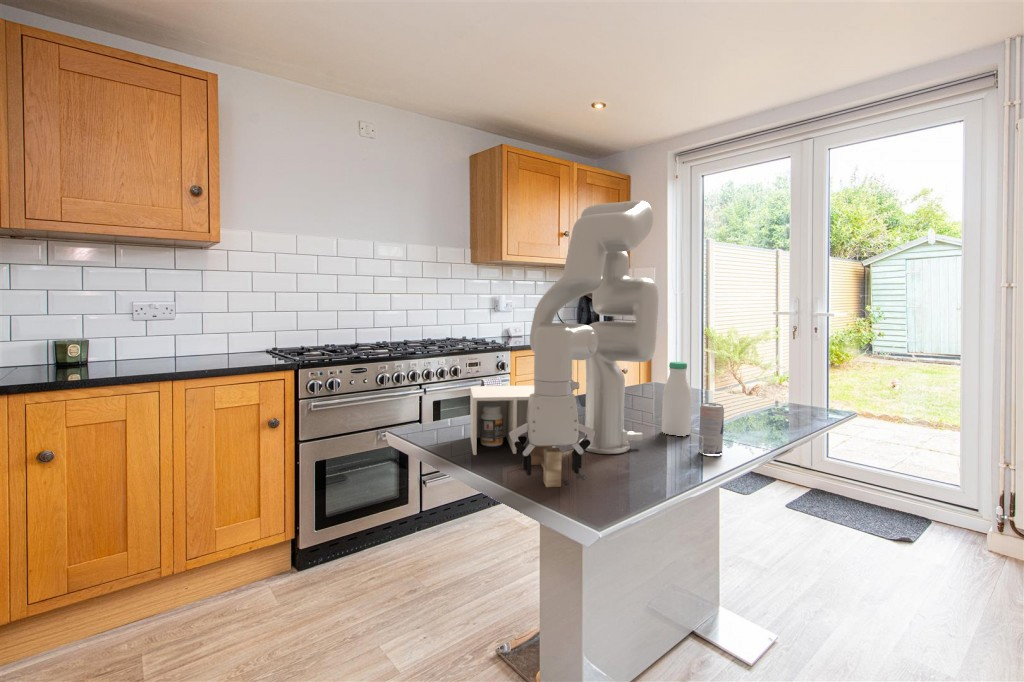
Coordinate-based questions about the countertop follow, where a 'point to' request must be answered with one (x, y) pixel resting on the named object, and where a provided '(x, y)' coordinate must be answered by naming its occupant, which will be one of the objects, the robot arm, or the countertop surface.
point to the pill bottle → (491, 425)
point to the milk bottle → (677, 401)
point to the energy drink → (711, 428)
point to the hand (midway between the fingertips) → (551, 472)
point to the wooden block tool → (548, 464)
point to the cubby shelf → (511, 409)
